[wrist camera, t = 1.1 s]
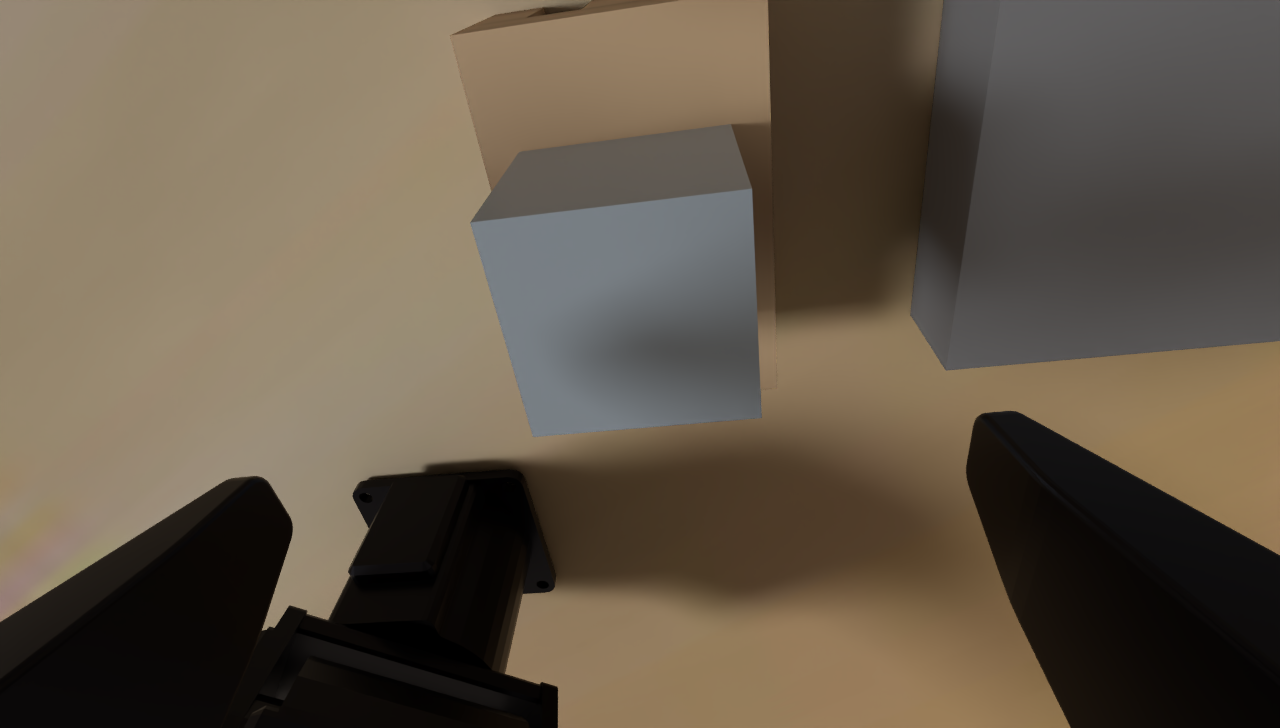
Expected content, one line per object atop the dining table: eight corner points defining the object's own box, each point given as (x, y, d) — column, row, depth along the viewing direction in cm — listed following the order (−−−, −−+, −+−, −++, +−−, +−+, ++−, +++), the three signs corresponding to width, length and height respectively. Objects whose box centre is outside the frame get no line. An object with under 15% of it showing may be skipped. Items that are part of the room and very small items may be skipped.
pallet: (759, 312, 20) (777, 388, 17) (569, 331, 21) (549, 408, 17) (745, -25, 15) (767, -13, 12) (496, 14, 16) (449, 35, 12)
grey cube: (741, 314, 15) (761, 417, 12) (561, 331, 16) (533, 437, 13) (730, 124, 13) (751, 188, 10) (519, 151, 13) (469, 222, 10)
